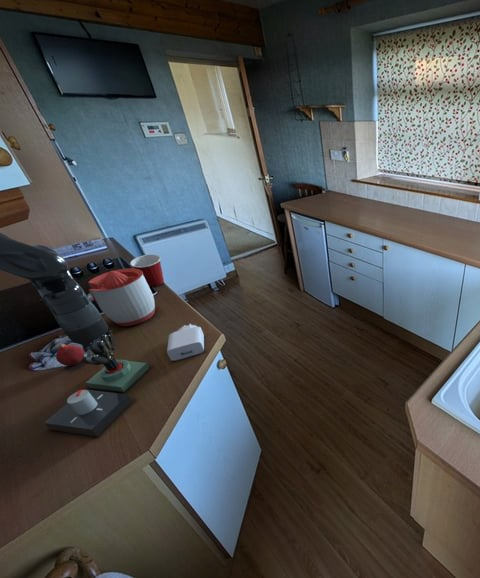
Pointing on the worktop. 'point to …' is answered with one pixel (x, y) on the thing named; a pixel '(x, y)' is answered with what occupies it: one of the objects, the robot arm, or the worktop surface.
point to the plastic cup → (149, 268)
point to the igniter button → (115, 369)
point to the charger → (185, 342)
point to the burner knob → (82, 402)
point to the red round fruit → (69, 354)
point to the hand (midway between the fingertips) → (113, 368)
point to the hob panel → (90, 415)
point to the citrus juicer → (123, 296)
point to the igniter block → (118, 376)
